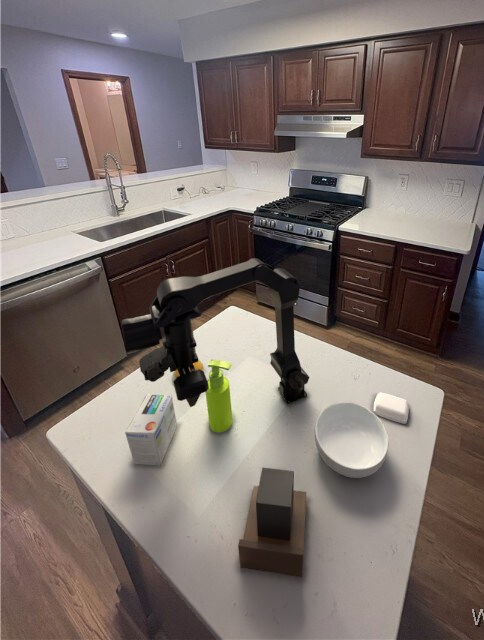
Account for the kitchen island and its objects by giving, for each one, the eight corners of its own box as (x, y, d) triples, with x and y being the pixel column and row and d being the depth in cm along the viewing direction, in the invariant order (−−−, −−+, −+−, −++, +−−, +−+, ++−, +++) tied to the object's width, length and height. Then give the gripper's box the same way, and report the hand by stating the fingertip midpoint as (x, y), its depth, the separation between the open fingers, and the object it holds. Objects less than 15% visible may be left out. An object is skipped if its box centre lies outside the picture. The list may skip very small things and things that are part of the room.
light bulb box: (152, 424, 81) (146, 393, 77) (178, 425, 81) (172, 394, 77) (132, 465, 71) (123, 432, 67) (161, 466, 71) (154, 433, 67)
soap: (372, 413, 85) (373, 405, 84) (376, 395, 90) (377, 387, 89) (407, 425, 81) (408, 417, 80) (408, 405, 87) (410, 398, 86)
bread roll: (205, 378, 95) (204, 368, 94) (174, 386, 93) (173, 376, 91) (202, 361, 103) (200, 351, 101) (173, 367, 100) (172, 358, 98)
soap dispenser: (231, 435, 78) (225, 373, 71) (205, 430, 80) (197, 369, 72) (239, 415, 84) (235, 356, 76) (215, 411, 85) (208, 352, 77)
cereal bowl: (302, 433, 79) (303, 413, 76) (358, 413, 85) (360, 393, 82) (336, 503, 65) (338, 481, 62) (400, 472, 70) (405, 451, 68)
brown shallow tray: (254, 494, 66) (253, 472, 63) (306, 500, 65) (307, 479, 62) (240, 568, 55) (238, 545, 52) (302, 577, 54) (303, 555, 51)
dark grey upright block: (263, 500, 62) (262, 467, 58) (293, 503, 62) (294, 470, 58) (257, 536, 57) (255, 502, 53) (290, 540, 56) (290, 507, 52)
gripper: (134, 324, 70) (146, 377, 77) (143, 378, 55) (156, 439, 62) (184, 311, 75) (191, 362, 82) (205, 358, 60) (212, 416, 67)
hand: (187, 391), depth 73 cm, fingers open, 9 cm apart
